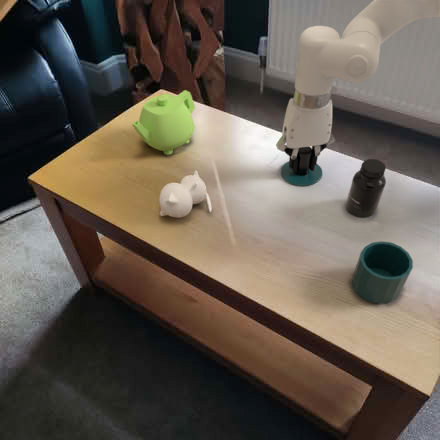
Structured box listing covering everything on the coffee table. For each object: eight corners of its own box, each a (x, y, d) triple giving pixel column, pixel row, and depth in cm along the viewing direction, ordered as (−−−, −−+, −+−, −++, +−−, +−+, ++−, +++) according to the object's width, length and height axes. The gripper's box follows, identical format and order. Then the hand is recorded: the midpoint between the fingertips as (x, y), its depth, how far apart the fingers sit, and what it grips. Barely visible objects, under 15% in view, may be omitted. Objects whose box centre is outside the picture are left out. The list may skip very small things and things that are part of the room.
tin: (389, 263, 88) (400, 238, 82) (408, 299, 82) (421, 275, 76) (345, 270, 87) (353, 245, 81) (362, 307, 81) (371, 282, 76)
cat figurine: (197, 159, 95) (157, 185, 90) (227, 197, 96) (189, 225, 91) (185, 178, 103) (147, 203, 98) (212, 213, 104) (177, 239, 98)
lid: (314, 160, 109) (318, 135, 103) (327, 185, 103) (332, 159, 97) (276, 165, 108) (278, 140, 103) (286, 190, 102) (289, 165, 97)
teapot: (157, 169, 109) (149, 124, 99) (123, 149, 115) (112, 105, 105) (211, 134, 118) (208, 89, 108) (177, 117, 123) (172, 73, 113)
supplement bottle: (342, 215, 96) (353, 171, 87) (348, 196, 100) (359, 152, 91) (373, 223, 95) (388, 178, 85) (378, 203, 98) (393, 158, 89)
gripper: (344, 81, 92) (330, 155, 107) (268, 91, 91) (265, 163, 106) (356, 99, 88) (340, 173, 103) (277, 109, 87) (272, 183, 101)
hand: (302, 167), depth 104 cm, fingers closed on lid, 3 cm apart
